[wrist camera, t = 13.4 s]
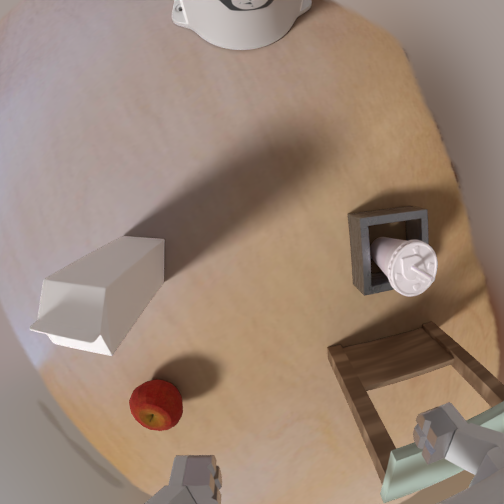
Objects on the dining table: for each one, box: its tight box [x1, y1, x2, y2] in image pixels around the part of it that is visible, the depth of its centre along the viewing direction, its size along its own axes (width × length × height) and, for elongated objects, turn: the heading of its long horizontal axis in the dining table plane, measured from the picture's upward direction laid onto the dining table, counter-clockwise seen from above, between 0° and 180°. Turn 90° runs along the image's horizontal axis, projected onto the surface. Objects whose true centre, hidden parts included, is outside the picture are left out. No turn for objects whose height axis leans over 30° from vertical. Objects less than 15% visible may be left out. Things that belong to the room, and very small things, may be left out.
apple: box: [129, 379, 183, 431], centre depth 41 cm, size 8×8×8 cm
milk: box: [30, 236, 165, 356], centre depth 29 cm, size 6×6×22 cm
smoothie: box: [370, 237, 438, 296], centre depth 34 cm, size 6×6×14 cm
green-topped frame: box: [327, 322, 504, 503], centre depth 31 cm, size 7×19×26 cm, turn 99°
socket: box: [348, 206, 428, 296], centre depth 38 cm, size 10×10×4 cm
